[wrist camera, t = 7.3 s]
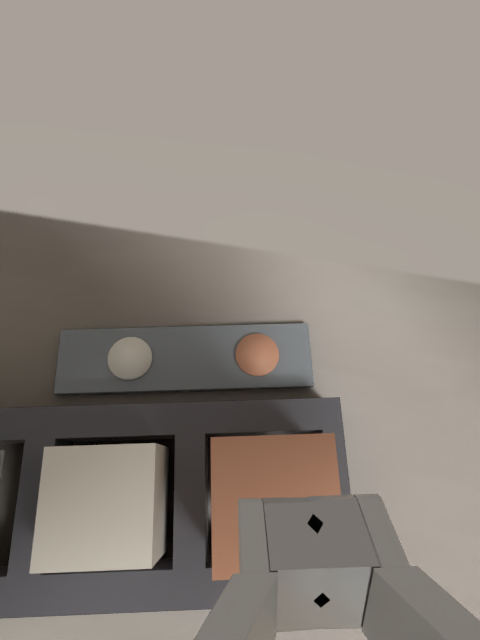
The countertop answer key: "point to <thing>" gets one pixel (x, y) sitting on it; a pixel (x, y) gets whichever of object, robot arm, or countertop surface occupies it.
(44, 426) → the keyguard frame
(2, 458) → the grey key
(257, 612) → the robot arm
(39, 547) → the cream key
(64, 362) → the card
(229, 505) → the terracotta key
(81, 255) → the countertop surface
